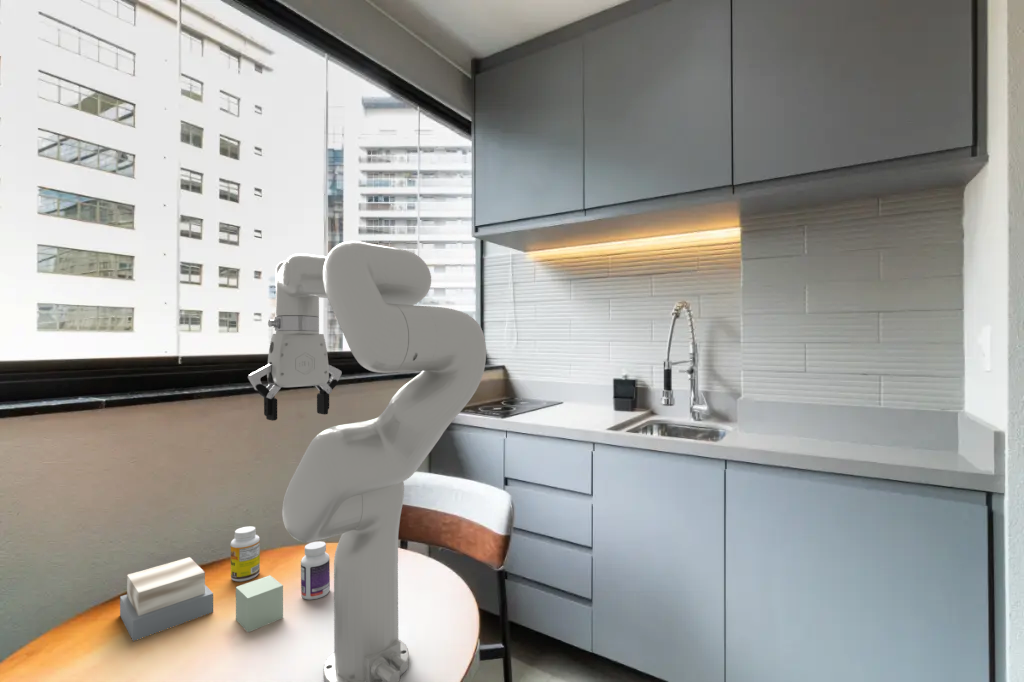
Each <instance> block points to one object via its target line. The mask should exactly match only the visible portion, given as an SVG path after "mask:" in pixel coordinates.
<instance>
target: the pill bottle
mask: <svg viewBox="0 0 1024 682" xmlns="http://www.w3.org/2000/svg"><path fill="white" fill-rule="evenodd" d="M326 551H327V544H326V542H325V541H322V540H319V541H315V542H308V543H307V544H306V545H305V546H304V556H303V557H302V558H301V561H300V594H301V597H302V599H304V600H310V601H311V600H317V599H321V598H323V597H325V596H326V595H327V594H329V592H330V588H331V584H330V583H331V577H330V572H331V570H330V569H331V568H330V563H331V562H330V560H331V559H330V554H329V553H327V552H326Z"/></svg>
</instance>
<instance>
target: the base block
mask: <svg viewBox="0 0 1024 682" xmlns="http://www.w3.org/2000/svg"><path fill="white" fill-rule="evenodd" d="M211 612H212V613H214V592H213V591H212V590H211V589H210V588H209V587H208V586H207V585H206V584H205V594H202V595H199V596H196V597H193V598H190V599H187V600H184V601H181V602H178V603H175V604H172V605H169V606H166V607H163V608H160V609H158V610H155V611H152V612H149V613H146V614H143V615H140V616H138V614H137V612H136V611H135V609H134V607H133V605H132V604H131V602H130V600H129V599H128V597H127V594H124V595H120V596H119V615H120V619H121V620H122V622H123V624H124V627H125V628H126V630H127V632H128V634H129V636H130V639H131V638H132V639H131V641H132V640H133V641H132V642H135V641H134V640H136V641H138V640H137V639H139V640H141V639H143V638H142V637H144V638H146V637H145V636H147V637H148V636H149V635H150V634H152V635H155V634H157V633H156V632H158V633H160V632H159V631H161V632H163V631H166V630H168V629H167V628H169V629H171V628H173V626H174V627H177V626H179V624H180V625H181V624H185V623H187V622H186V621H188V622H190V621H193V620H195V618H196V619H198V617H199V618H201V617H204V616H206V614H207V615H209V613H210V614H212V613H211ZM203 615H204V616H203ZM192 619H193V620H192ZM189 620H190V621H189ZM184 622H185V623H184ZM176 625H177V626H176ZM170 627H171V628H170ZM165 629H166V630H165ZM162 630H163V631H162ZM154 633H155V634H154ZM150 636H151V635H150ZM140 638H141V639H140Z"/></svg>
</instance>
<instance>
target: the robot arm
mask: <svg viewBox="0 0 1024 682" xmlns="http://www.w3.org/2000/svg"><path fill="white" fill-rule="evenodd" d="M431 274H432V273H431V271H430V269H429V267H428V265H427V263H426V262H425V261H424V259H422V258H421V257H420V256H419V255H417V254H416V253H414V252H412V251H409V250H407V249H402V248H399V247H392V246H391V247H390V246H387V245H379V244H375V243H369V242H364V241H356V240H349V241H344V242H340V243H339V244H337V245H335V246H334V247H333V248H332V249H331V250H330V251H329V252H328V254H327V256H325V255H317V254H312V253H311V254H310V253H294V254H292V255H289V257H287V258H286V260H283V261H280V262H279V263H278V264H277V265H276V268H275V316H274V318H273V319H269V320H268V321H267V322H268V323H267V325H268V327H269V328H274V331H275V333H272V335H271V339H270V343H269V344H270V345H269V349H268V355H267V364H266V365H265V366H262V367H260V368H258V369H257V370H255V371H252V372H251V373H250V374H248V376H247V379H248V381H249V382H250V384H251V385H252V387H253V388H252V389H253V390H254V391H255V392H256V393H258V394H259V395H260V396H261V398H263V407H264V408H263V415H264V416H265V418H266V420H268V421H277V420H278V398H277V397H275V396H276V395H277V393H278V392H279V391H280V390H281V388H298V387H312V386H313V387H315V388H316V389H317V390H318V391H319V392H318V393H317V394H316V412H317V414H320V415H324V416H325V415H328V414H329V410H330V394H332V391H333V390H334V389H335V387H336V386H337V385H338V382H339V380H340V378H341V376H342V370H340V369H339V368H336V367H335V366H332V365H330V364H329V358H328V349H327V348H328V347H327V342H326V339H325V336H324V334H323V333H320V298H322V299H323V298H325V299H328V303H329V304H330V305H329V306H330V307H331V309H332V311H333V313H334V316H335V317H336V318H335V319H336V321H337V322H338V324H339V327H340V328H341V331H342V333H343V336H344V338H345V340H346V343H347V345H348V347H349V349H350V352H351V354H352V355H353V357H354V359H355V360H356V361H357V363H358V364H359V365H360V366H361V367H363V368H364V369H366V370H368V371H370V372H373V373H381V374H382V373H385V374H389V373H391V374H393V373H408V372H409V373H410V372H420V373H418V374H417V375H416V376H414V377H413V378H412V379H411V380H409V381H408V382H407V383H405V384H404V385H403V386H401V387H400V388H399V389H398V390H397V391H396V393H395V394H394V395H393V396H392V397H391V399H390V400H389V403H388V405H387V406H386V408H385V409H384V410H383V412H382V413H381V414H379V416H378V417H376V418H372V419H368V420H364V421H356V422H352V423H351V422H350V423H345V424H344V423H343V424H338V425H334V426H330V427H328V428H326V429H324V430H322V431H321V432H319V433H318V434H316V436H314V438H312V440H311V442H310V443H309V445H308V446H307V448H306V449H305V452H304V454H303V456H302V458H301V459H300V462H299V464H298V465H297V467H296V469H295V470H294V472H293V475H292V477H291V478H290V481H289V483H288V486H287V488H286V491H285V493H284V496H283V497H284V498H283V501H282V511H281V513H282V521H283V525H284V527H285V529H286V531H287V533H288V534H289V535H290V536H291V537H292V538H293V539H295V540H297V541H298V542H301V543H312V542H318V541H322V540H325V539H328V538H331V537H336V536H338V535H340V538H339V541H338V543H337V545H336V550H335V553H334V559H333V621H334V622H333V625H334V626H333V633H334V634H333V637H334V641H333V644H334V645H333V650H334V651H333V652H332V653H331V654H330V655H329V656H328V657H327V659H326V661H325V663H324V664H323V673H322V674H323V681H324V682H400V678H401V676H402V675H403V674H404V673H405V672H406V671H407V670H408V668H409V661H410V658H409V657H410V655H409V654H410V652H409V648H408V647H407V645H406V644H405V642H403V641H402V640H401V639H400V638H399V531H400V522H401V514H402V510H403V509H402V508H403V503H404V497H405V481H407V480H408V479H409V478H411V477H412V476H413V475H414V474H415V473H416V471H417V470H418V469H419V468H420V467H421V465H422V463H424V461H425V460H426V458H427V457H428V455H429V454H430V453H431V452H432V450H433V449H434V447H435V446H436V444H437V443H438V441H439V440H440V439H441V437H442V436H443V434H444V433H445V432H446V430H447V428H448V427H449V426H450V425H451V423H452V422H453V421H454V420H455V418H456V417H457V416H458V415H459V414H460V412H462V411H463V410H464V408H465V407H466V405H467V404H468V403H469V401H471V399H472V397H473V396H474V394H475V393H476V392H477V390H478V388H479V385H480V384H481V381H482V379H483V378H482V377H483V375H484V372H485V369H486V368H485V367H486V361H487V360H486V359H487V345H486V338H485V334H484V331H483V330H482V329H483V328H482V327H481V326H480V324H479V323H478V321H477V320H476V319H475V318H474V317H472V316H471V315H469V314H468V313H465V312H463V311H461V310H458V309H454V308H453V309H452V308H449V307H442V306H429V305H417V304H419V303H420V302H421V301H422V300H423V299H424V298H426V296H427V295H428V293H429V292H430V290H431V289H430V288H431V286H432V275H431ZM264 376H266V378H267V384H268V385H267V386H265V385H264V384H263V383H262V381H261V378H262V377H264Z"/></svg>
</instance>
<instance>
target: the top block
mask: <svg viewBox="0 0 1024 682" xmlns="http://www.w3.org/2000/svg"><path fill="white" fill-rule="evenodd" d="M205 579H206V571H205V570H204V569H202V568H201V566H200V565H198V564H197V562H195V561H194V559H192V557H190V556H189V557H185V558H180V559H178V560H175V561H171V562H166V563H164V564H160V565H156V566H153V567H150V568H146V569H144V570H140V571H136V572H135V571H134V572H133V573H132V572H131V573H128V574H127V575H126V582H127V583H126V595H127V597H128V599H129V600H130V602H131V604H132V605H133V607H134V609H135V611H136V612H137V614H138V616H140V615H143V614H146V613H149V612H152V611H155V610H158V609H160V608H163V607H166V606H169V605H172V604H175V603H178V602H181V601H184V600H187V599H190V598H193V597H196V596H199V595H202V594H205V585H206V580H205Z"/></svg>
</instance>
